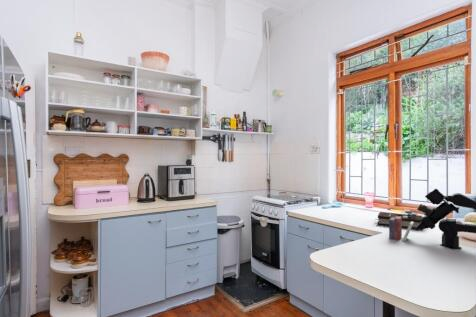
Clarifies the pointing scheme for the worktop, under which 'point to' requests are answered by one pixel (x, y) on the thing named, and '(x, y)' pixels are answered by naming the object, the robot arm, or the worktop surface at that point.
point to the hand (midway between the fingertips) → (416, 229)
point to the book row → (395, 228)
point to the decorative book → (406, 219)
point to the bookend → (408, 231)
